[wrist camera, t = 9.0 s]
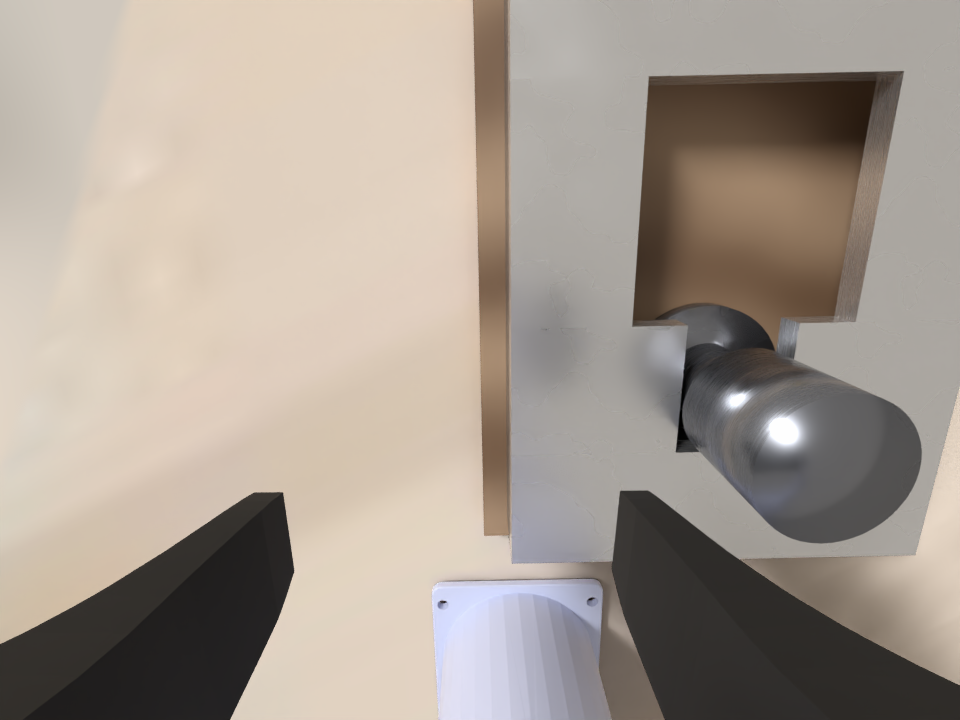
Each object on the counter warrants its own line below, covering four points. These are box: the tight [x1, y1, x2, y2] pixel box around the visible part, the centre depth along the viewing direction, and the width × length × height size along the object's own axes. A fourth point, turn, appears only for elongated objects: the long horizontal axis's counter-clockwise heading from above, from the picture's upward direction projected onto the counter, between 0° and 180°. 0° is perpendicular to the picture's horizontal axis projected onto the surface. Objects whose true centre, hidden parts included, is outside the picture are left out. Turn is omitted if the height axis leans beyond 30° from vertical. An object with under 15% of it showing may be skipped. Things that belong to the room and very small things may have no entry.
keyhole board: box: [473, 0, 876, 536], centre depth 19 cm, size 22×17×1 cm
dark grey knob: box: [655, 303, 922, 544], centre depth 16 cm, size 6×6×8 cm
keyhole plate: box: [504, 0, 960, 564], centre depth 17 cm, size 20×15×3 cm
